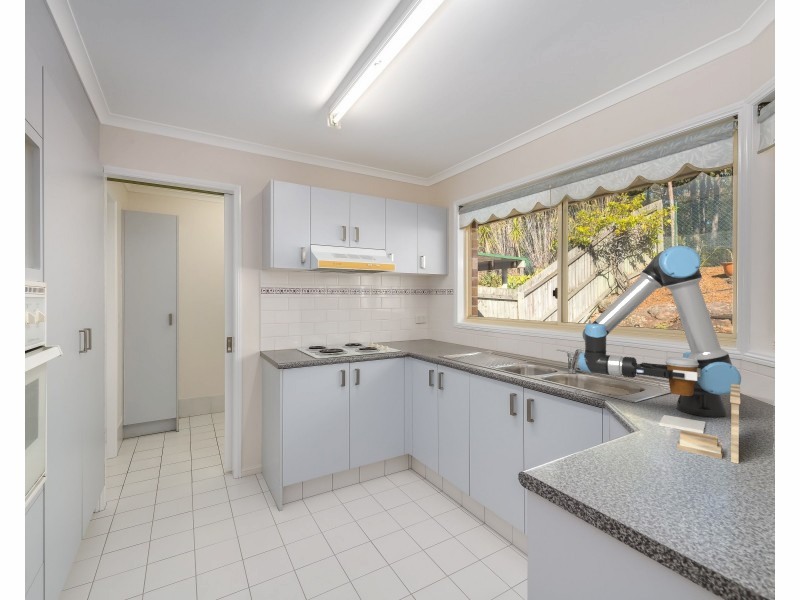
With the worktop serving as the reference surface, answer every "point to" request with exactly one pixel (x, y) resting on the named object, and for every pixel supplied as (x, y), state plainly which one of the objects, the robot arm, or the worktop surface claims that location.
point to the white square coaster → (682, 424)
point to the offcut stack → (700, 444)
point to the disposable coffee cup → (682, 385)
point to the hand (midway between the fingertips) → (698, 374)
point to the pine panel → (735, 422)
